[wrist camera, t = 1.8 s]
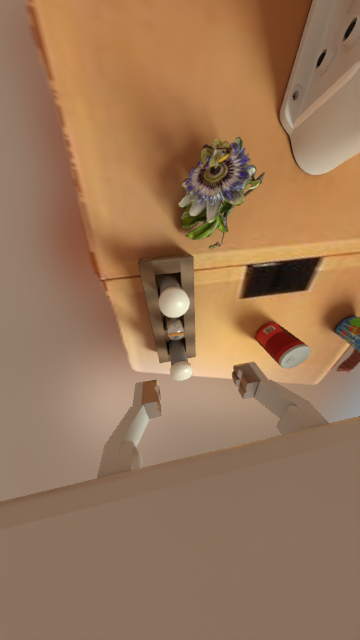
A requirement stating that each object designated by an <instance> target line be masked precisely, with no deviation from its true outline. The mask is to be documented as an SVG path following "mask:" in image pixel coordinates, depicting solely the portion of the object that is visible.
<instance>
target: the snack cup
mask: <svg viewBox="0 0 360 640" xmlns="http://www.w3.org/2000/svg"><path fill="white" fill-rule="evenodd" d="M335 331H336V334H337V335H339V336H340V337H341V338H342V339H344V340H345V341H346V342H348V343H349V344H350V345H352V346H353V347H354V348H356V349H357V350H358V351H359V352H360V317H355V316H353V317H350V318H347V319H345V320H343V321H342V322H341V323H340V324H339V325H338V326H337V328H336V329H335Z"/></svg>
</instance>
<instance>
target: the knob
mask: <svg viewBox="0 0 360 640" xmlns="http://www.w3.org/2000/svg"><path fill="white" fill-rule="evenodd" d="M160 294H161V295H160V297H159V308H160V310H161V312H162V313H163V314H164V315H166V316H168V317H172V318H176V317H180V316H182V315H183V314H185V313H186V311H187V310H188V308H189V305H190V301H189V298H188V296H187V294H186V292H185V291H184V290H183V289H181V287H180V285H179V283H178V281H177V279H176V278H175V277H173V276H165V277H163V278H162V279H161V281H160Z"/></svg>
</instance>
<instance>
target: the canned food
mask: <svg viewBox="0 0 360 640" xmlns="http://www.w3.org/2000/svg"><path fill="white" fill-rule="evenodd" d="M256 339H257V342H258V343H259V344H260V345H261V346H262V347H263V348H264V349H265V350H266V351H267V352H268V353H269V354H270V356H271V357H272V358H273V359H274V360H275V361H276V362H277V363H278V364H279V365H280V366H281V367H282V368H285V369H288V368H293V367H295V366H297V365H299V364H301V363H302V362H304V361H305V360H306V359H307V358H308V356H309V355H310V352H311V349H310V348H309V347H308V346H307V345H306V344H304V343H303V342H302V341H300V340H299V339H298V338H296V337H295V336H294V335H292V334H291V333H290V332H288V331H287V330H286V329H284V328H283V327H281V326H280V325H279V324H276V323H267V324H265V325H263V326H262V327H261V328H260V329H259V330H258V331H257V333H256Z"/></svg>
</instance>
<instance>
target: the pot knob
mask: <svg viewBox="0 0 360 640" xmlns="http://www.w3.org/2000/svg"><path fill="white" fill-rule="evenodd" d="M166 323H167V330H168V336H169V338H170V339H172V340H179V339H181V338H182V337H183V336H184V330H183V326H182V323H181V320H180V317H176V318H172V317H168V316H166Z"/></svg>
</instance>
